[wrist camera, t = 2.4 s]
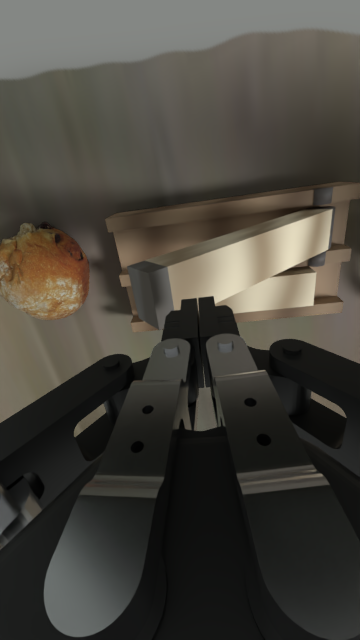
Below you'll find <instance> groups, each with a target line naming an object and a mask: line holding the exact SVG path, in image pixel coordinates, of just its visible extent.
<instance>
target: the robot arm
mask: <svg viewBox="0 0 360 640" xmlns="http://www.w3.org/2000/svg"><path fill="white" fill-rule="evenodd" d="M198 306H199V311H198ZM203 367H204V374H203ZM204 375H205V384H206V387H211V396H212V405H213V410H214V415H215V420H216V426H217V427H216V428H213V429H209V430H206V431H196V430H197V417H198V394H199V388H204ZM311 391H313V392H314V393H316V394H318V395H320V396H322V397H324V398H326V399H327V400H329V401H331V402H333V403H335V404H337V405H338V406H339V407H340V408H341V409H342V410H343V411H344V412H345V414H346V417H347V418H345V417H343V416H341V415H340V414H338V413H336V412H334V411H332V410H331V409H329V408H327V407H325V406H324V405H322V404H320V403H318V402H316V401H315V400H313V399H311ZM101 404H104V406H105V409H106V413H105V414H104V415H103V416H101V417H100V418H99V419H98V420H96V421H95V422H94V423H93V424H91V425H90V426H89V427H88V428H86V429H85V430H84V431H83V432H81V433H80V434H79V435H78V436H76V437H74V429H75V427H76V425H77V424H78V422H79V421H81V420H82V419H83V418H84V417H86V416H87V415H88V414H90V413H91V412H92V411H94V410H95V409H96V408H98V407H99V406H100V405H101ZM0 640H360V364H359V363H356V362H354V361H351V360H349V359H346V358H344V357H341V356H339V355H336V354H334V353H331V352H329V351H326V350H324V349H321V348H319V347H316V346H314V345H311V344H309V343H306V342H304V341H300V340H296V339H283V340H279V341H276V342H274V343H273V344H272V345H271V346H270V350H260V349H255V348H251V347H249V346H247V345H246V343H245V341H244V339H243V338H242V337H240V335H239V331H238V328H237V324H236V321H235V317H234V314H233V310H232V309H231V308H230V307H228V306H227V305H221V306H215V301H214V296H209V297H200V298H198V302H197V298H191V299H182V300H181V309H180V310H174V311H171V312H170V313H169V314H168V315H167V316H166V318H165V324H164V329H163V335H162V340H161V342H160V343H158V344H157V345H156V346H155V347H154V348H153V351H152V354H151V356H150V357H149V358H147V359H145V360H142V361H138V362H135V363H132V360H131V358H130V357H129V356H127V355H124V354H114V355H110V356H107V357H105V358H102V359H101V360H99V361H98V362H96V363H94V364H93V365H91V366H90V367H88V368H87V369H85V370H83V371H82V372H80V373H79V374H77V375H75V376H74V377H72V378H71V379H69V380H68V381H66V382H64V383H63V384H61V385H60V386H58V387H57V388H55V389H53V390H52V391H50V392H49V393H47V394H46V395H44V396H42V397H41V398H39V399H38V400H36V401H35V402H33V403H31V404H30V405H28V406H27V407H25V408H23V409H22V410H20V411H19V412H17V413H16V414H14V415H12V416H11V417H9V418H8V419H6V420H5V421H3V422H1V423H0Z"/></svg>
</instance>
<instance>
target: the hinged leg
mask: <svg viewBox="0 0 360 640" xmlns="http://www.w3.org/2000/svg"><path fill="white" fill-rule="evenodd" d="M335 208H336V207H334V206H319V207H312V208H308V209H304V210H301V211H298V212H295V213H292V214H288V215H285V216H282V217H279V218H276V219H273V220H270V221H267V222H263V223H260V224H257V225H254V226H251V227H248V228H245V229H242V230H238V231H235V232H232V233H229V234H226V235H223V236H220V237H217V238H213V239H210V240H207V241H204V242H201V243H198V244H195V245H192V246H189V247H185V248H182V249H179V250H176V251H173V252H170V253H167V254H164V255H160V256H157V257H154V258H151V259H148V260H145V261H142V262H139V263H135V264H132V265H129V266H127V269H128V273H129V277H130V282H131V286H132V290H133V295H134V299H135V303H136V308H137V312H138V316H139V318H140V319H141V320H143V321H145V322H146V323H148V324H150V325H151V326H153V327H155V328H156V329H158V330H162V329H164V324H165V318H166V316H167V315H168V314H169V313H170V312H171V311H174V310H180V309H181V300H182V299H191V298H197V302H198V298H200V297H209V296H214V301H215V304H216V303H218V302H220V301H222V300H224V299H226V298H228V297H230V296H232V295H234V294H237V293H239V292H241V291H243V290H245V289H247V288H249V287H251V286H253V285H255V284H257V283H259V282H262V281H264V280H266V279H268V278H270V277H272V276H274V275H276V274H278V273H280V272H282V271H284V270H287V269H289V268H291V267H293V266H295V265H297V264H299V263H301V262H303V261H305V260H307V259H309V258H312V257H314V256H316V255H318V254H320V253H322V252H324V251H326V250H328V249H330V248H331V242H332V233H333V225H334V216H335ZM198 311H199V306H198Z"/></svg>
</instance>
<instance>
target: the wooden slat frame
mask: <svg viewBox="0 0 360 640" xmlns="http://www.w3.org/2000/svg"><path fill="white" fill-rule="evenodd" d="M359 197H360V183H354V182H333V183H326V184H319V185H312V186H305V187H298V188H290V189H283V190H276V191H269V192H262V193H255V194H248V195H241V196H234V197H227V198H220V199H213V200H206V201H199V202H192V203H185V204H178V205H171V206H164V207H157V208H150V209H143V210H135V211H128V212H121V213H116V214H114V215H112V216H110V217H108V218H106V219H105V221H106V225H107V229H108V233H109V232H113V234H114V238H115V242H116V246H117V250H118V254H119V259H120V263H121V267H122V272H121V274H120V275H119V278H120V282H121V286H122V287H125V286H126V288H127V292H128V296H129V300H130V304H131V309H132V313H133V319H132V321H131V326H132V330H133V332H142V331H153V330H158V329H156V328H155V327H153V326H151V325H150V324H148V323H146V322H145V321H143V320H141V319H140V318H139V316H138V312H137V308H136V303H135V299H134V295H133V290H132V286H131V282H130V277H129V273H128V269H127V266H129V265H132V264H135V263H139V262H142V261H145V260H148V259H151V258H154V257H157V256H160V255H164V254H167V253H170V252H173V251H176V250H179V249H182V248H185V247H189V246H192V245H195V244H198V243H201V242H204V241H207V240H210V239H213V238H217V237H220V236H223V235H226V234H229V233H232V232H235V231H238V230H242V229H245V228H248V227H251V226H254V225H257V224H260V223H263V222H267V221H270V220H273V219H276V218H279V217H282V216H285V215H288V214H292V213H295V212H298V211H301V210H304V209H308V208H312V207H319V206H334V207H336V208H335V216H334V225H333V233H332V242H331V248H330V249H328V250H326V251H324V252H322V253H320V254H318V255H316V256H314V257H312V258H309V259H307V260H305V261H303V262H301V263H299V264H297V265H295V266H293V267H291V268H289V269H287V270H284V271H282V272H280V273H278V274H276V275H274V276H272V277H270V278H268V279H266V280H264V281H262V282H259V283H257V284H255V285H253V286H251V287H249V288H247V289H245V290H243V291H241V292H239V293H237V294H234V295H232V296H230V297H228V298H226V299H224V300H222V301H220V302H218V303H216V304H215V306H221V305H227V306H228V307H230V308H231V309H232V310H233V314H234V317H235V321H236V323H237V322H247V321H258V320H268V319H279V318H289V317H300V316H310V315H321V314H331V313H342V309H343V301H342V300H341V299H340V298H339V297H337V290H338V283H339V276H340V269H341V262H346V261H350V256H351V249H352V248H350V247H348V246H346V245H344V240H345V233H346V225H347V218H348V211H349V204H350V200H353V199H359ZM162 330H163V329H162Z"/></svg>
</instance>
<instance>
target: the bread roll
mask: <svg viewBox="0 0 360 640" xmlns="http://www.w3.org/2000/svg"><path fill="white" fill-rule="evenodd" d="M88 290H89V262H88V260H87V257H86V255H85V253H84V252H83V251H82V249H81V248H80V246H79V245H78V243H77V242H76V241H75V240H74V239H73V238H71V237H70V236H68V235H67V234H65V233H64V232H62V231H60V230H58V229H55V228H54V227H51V226H50V225H49V224H48V223H47V222H43V223H42V224H41V225H40V226H39V227H38V229H36V228H35V227H34V225H33V224H31V223H30V224H29V223H23V224H22V225H21V226H20V231H19V232H18V233H17V235H16V236H14V237H9V238H7V239H3V240H2V243H1V245H0V295H1V296H2V297H3V298H4V299H5V300H6V301H7V302H8V303H9V304H11V305H12V306H14V307H15V308H17V309H19V310H21V311H24V312H26V313H27V314H29V315H31V316H33V317H35V318H39V319H43V320H56V319H61V318H65V317H67V316H69V315H71V314H73V313H74V312H76V311H77V310H78V309H79V308H80V307H81V306H82V304H83V303H84V301H85V299H86V297H87V295H88Z"/></svg>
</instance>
